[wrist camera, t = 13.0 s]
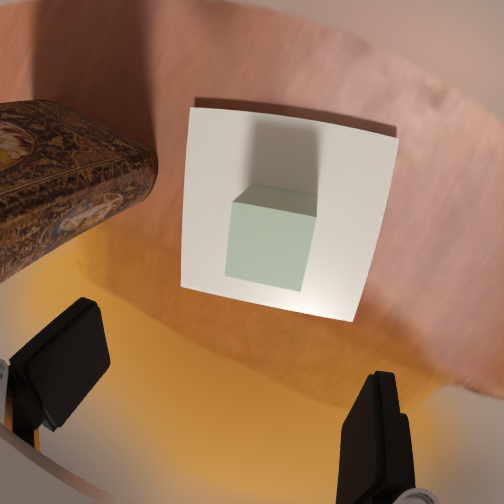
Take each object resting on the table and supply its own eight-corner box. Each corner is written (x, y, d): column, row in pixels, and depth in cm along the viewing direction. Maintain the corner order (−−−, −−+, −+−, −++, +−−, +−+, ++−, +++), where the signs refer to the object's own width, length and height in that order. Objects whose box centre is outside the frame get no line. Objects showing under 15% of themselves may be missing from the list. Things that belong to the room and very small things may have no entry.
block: (317, 194, 23) (316, 217, 18) (305, 254, 25) (300, 291, 20) (252, 183, 24) (232, 201, 19) (245, 242, 26) (224, 275, 21)
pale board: (396, 138, 21) (399, 138, 20) (351, 315, 28) (352, 321, 27) (195, 107, 24) (190, 107, 23) (185, 281, 30) (180, 286, 29)
